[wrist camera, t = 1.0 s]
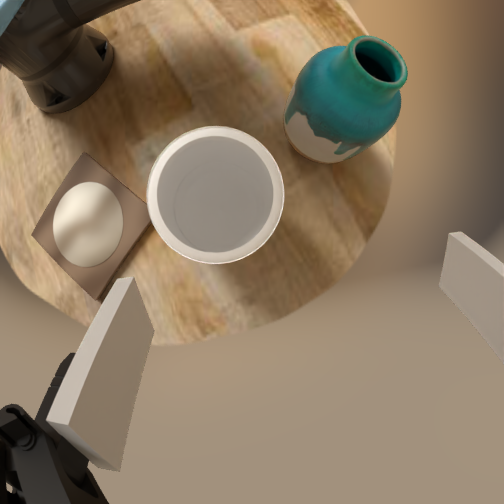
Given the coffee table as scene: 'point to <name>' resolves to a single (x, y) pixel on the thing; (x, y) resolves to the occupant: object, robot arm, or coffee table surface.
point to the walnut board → (91, 225)
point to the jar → (215, 195)
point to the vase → (345, 100)
